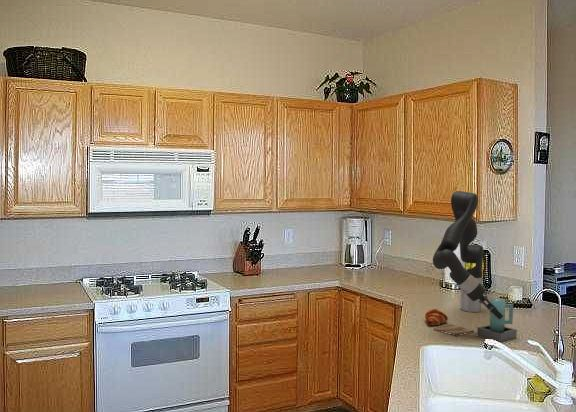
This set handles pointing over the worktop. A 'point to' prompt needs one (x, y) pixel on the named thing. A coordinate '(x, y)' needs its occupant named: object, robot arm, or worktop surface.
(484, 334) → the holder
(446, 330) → the board
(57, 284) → the worktop surface
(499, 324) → the jug
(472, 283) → the robot arm
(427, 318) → the croissant
